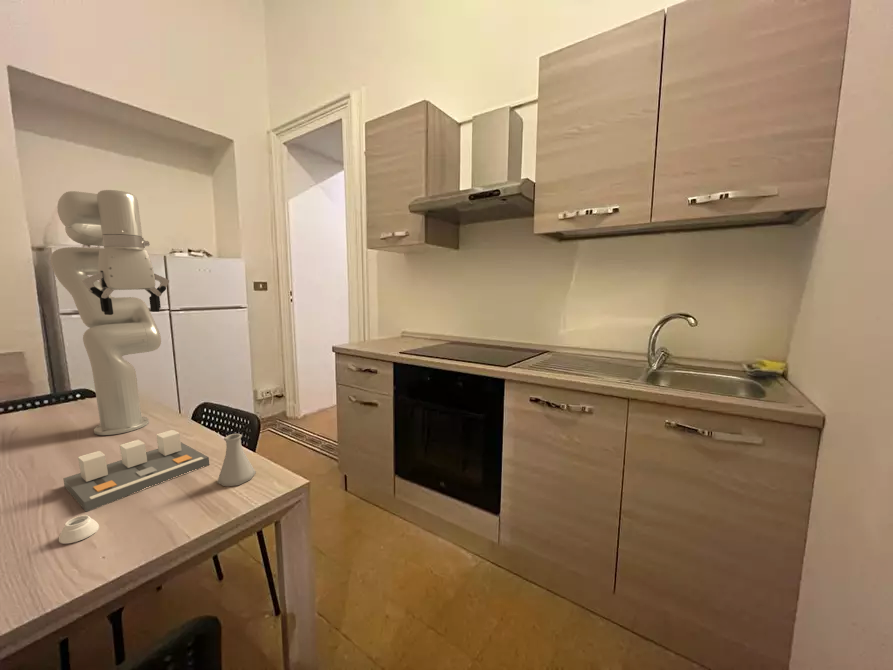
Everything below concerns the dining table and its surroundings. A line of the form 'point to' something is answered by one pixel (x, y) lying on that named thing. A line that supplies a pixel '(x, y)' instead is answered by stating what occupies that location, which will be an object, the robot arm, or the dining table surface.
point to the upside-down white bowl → (78, 529)
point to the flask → (235, 463)
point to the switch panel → (133, 476)
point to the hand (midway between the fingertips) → (133, 313)
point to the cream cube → (168, 442)
